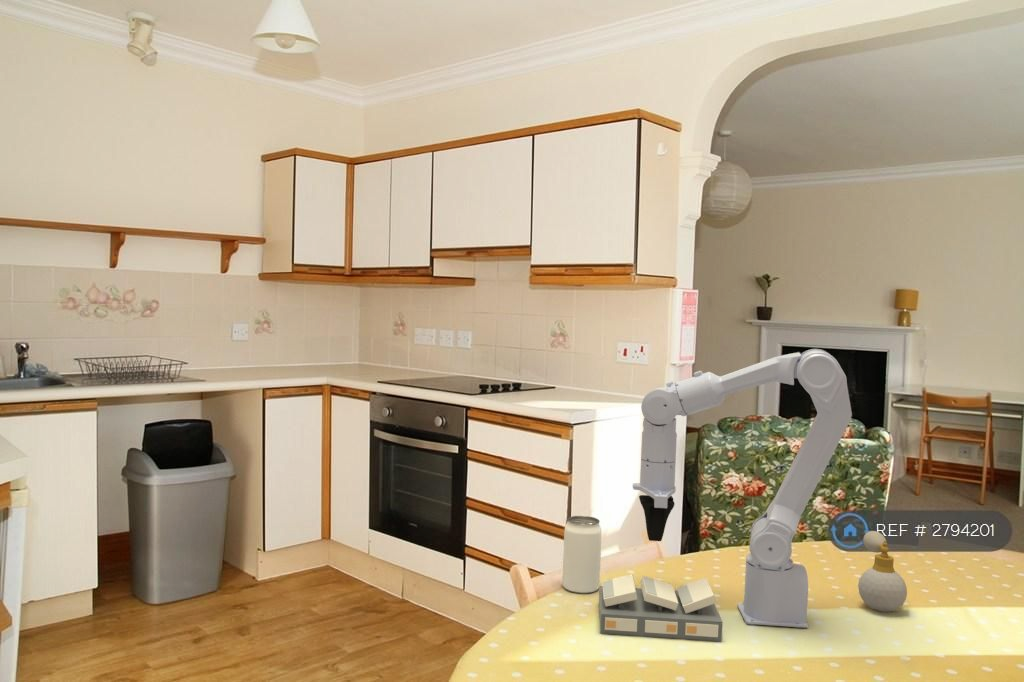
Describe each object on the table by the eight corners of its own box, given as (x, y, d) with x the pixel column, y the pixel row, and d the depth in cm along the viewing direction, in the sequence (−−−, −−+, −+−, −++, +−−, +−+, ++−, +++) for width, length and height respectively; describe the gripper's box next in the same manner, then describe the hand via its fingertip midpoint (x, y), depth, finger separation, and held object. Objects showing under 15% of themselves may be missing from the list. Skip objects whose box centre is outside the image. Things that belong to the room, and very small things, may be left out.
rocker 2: (708, 584, 131) (705, 576, 131) (716, 602, 123) (713, 594, 123) (679, 594, 131) (676, 587, 131) (685, 613, 123) (682, 605, 123)
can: (597, 596, 138) (600, 526, 137) (559, 592, 139) (562, 523, 139) (600, 583, 144) (603, 516, 144) (564, 579, 146) (567, 513, 145)
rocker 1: (634, 581, 132) (632, 573, 132) (637, 599, 124) (635, 591, 124) (604, 588, 132) (602, 580, 132) (605, 606, 124) (603, 598, 124)
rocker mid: (670, 591, 131) (672, 584, 131) (676, 610, 123) (678, 602, 123) (640, 582, 132) (642, 574, 132) (644, 600, 124) (646, 592, 124)
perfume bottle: (880, 620, 132) (885, 547, 131) (837, 598, 141) (841, 530, 140) (916, 615, 134) (920, 543, 134) (871, 594, 143) (875, 527, 143)
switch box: (709, 610, 133) (710, 588, 133) (721, 642, 121) (723, 617, 121) (598, 603, 134) (599, 581, 134) (600, 634, 122) (601, 609, 122)
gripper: (631, 450, 143) (628, 526, 144) (637, 467, 129) (633, 551, 129) (671, 452, 142) (668, 528, 143) (682, 469, 128) (678, 554, 129)
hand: (654, 539), depth 136 cm, fingers closed
